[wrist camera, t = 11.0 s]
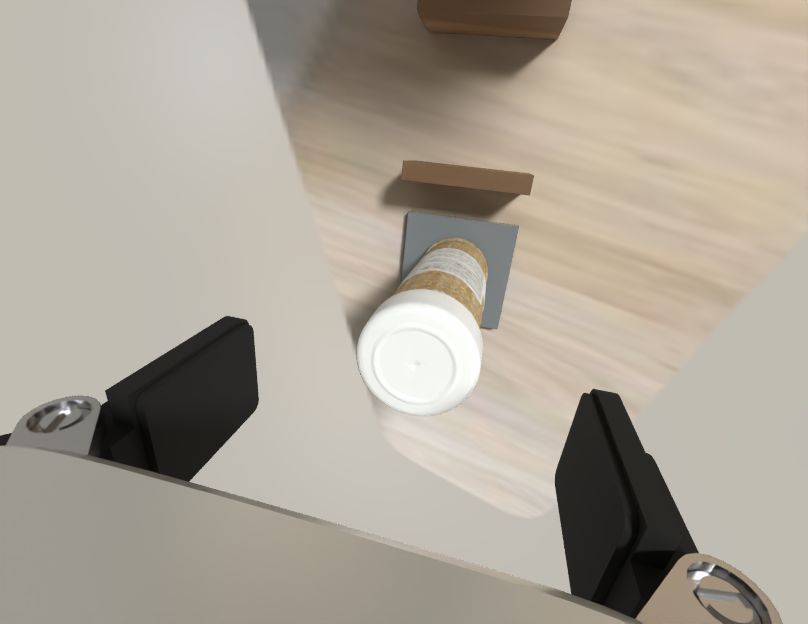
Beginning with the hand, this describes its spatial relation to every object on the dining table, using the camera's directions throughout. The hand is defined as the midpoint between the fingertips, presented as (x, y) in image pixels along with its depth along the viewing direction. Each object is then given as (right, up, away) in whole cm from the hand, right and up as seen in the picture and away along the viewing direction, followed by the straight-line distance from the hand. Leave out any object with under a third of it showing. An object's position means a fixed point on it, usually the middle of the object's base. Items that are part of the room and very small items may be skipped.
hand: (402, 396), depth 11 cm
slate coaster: (+4, +5, +16) cm, 17 cm away
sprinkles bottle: (+3, +5, +15) cm, 16 cm away
